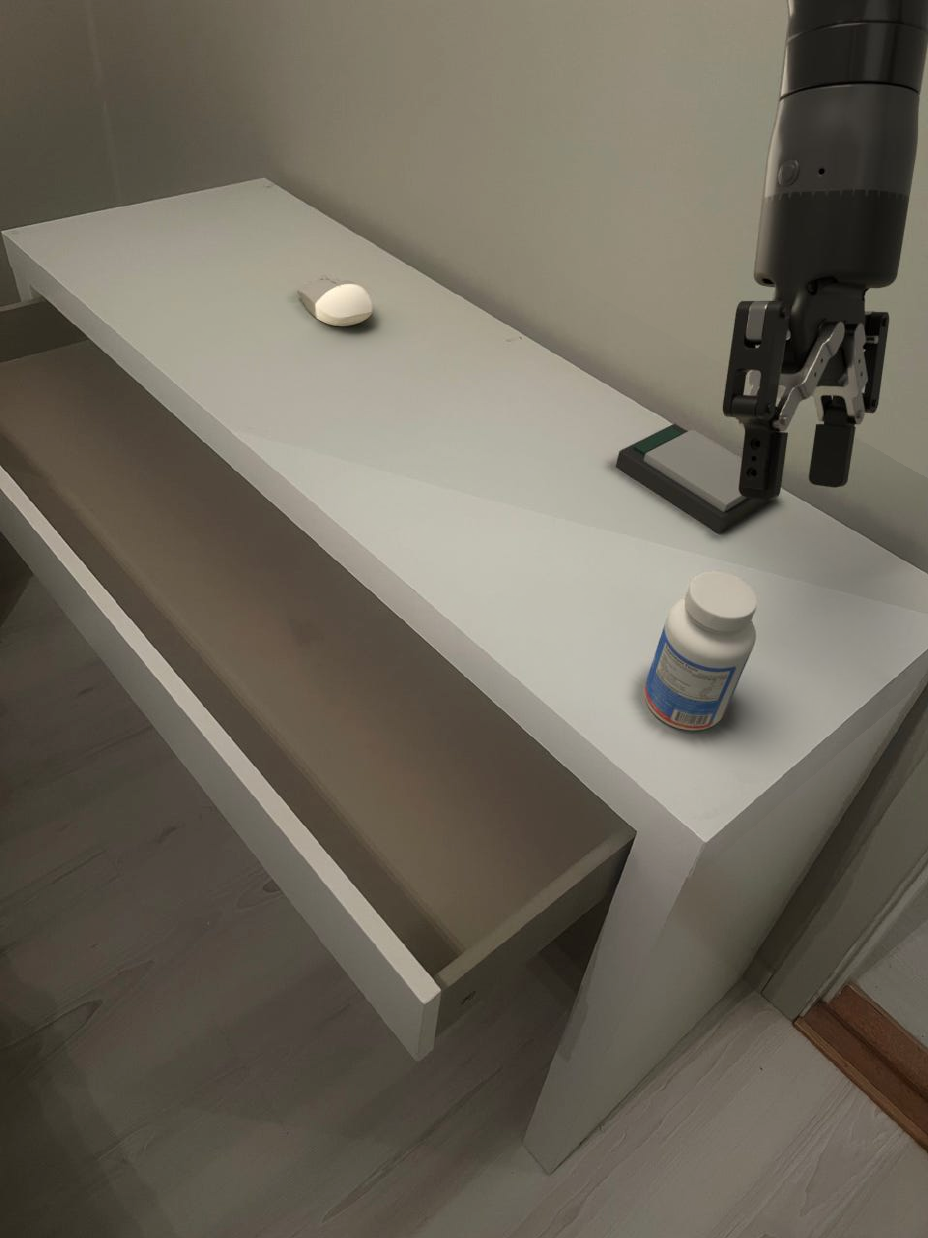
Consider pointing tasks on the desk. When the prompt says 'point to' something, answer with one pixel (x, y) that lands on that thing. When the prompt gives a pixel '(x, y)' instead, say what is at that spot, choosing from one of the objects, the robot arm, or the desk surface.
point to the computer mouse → (336, 301)
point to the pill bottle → (702, 652)
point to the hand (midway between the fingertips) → (794, 491)
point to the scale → (690, 475)
